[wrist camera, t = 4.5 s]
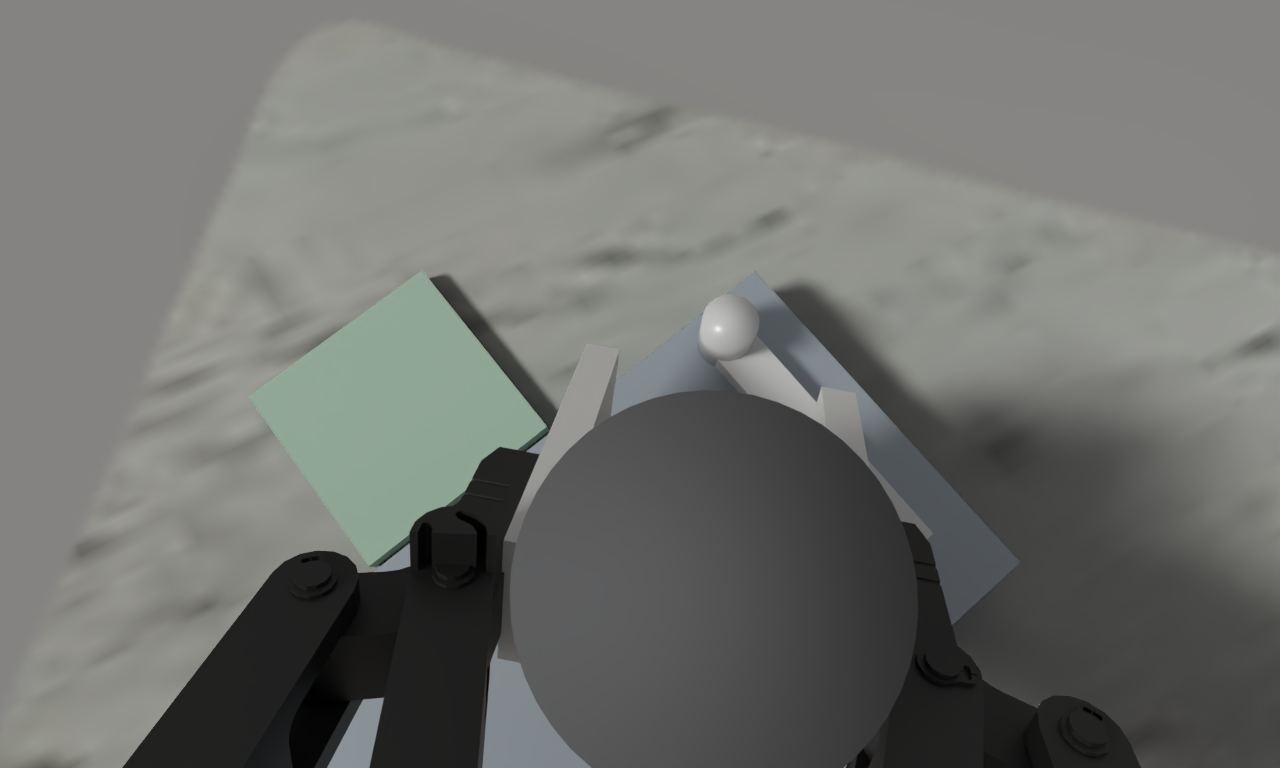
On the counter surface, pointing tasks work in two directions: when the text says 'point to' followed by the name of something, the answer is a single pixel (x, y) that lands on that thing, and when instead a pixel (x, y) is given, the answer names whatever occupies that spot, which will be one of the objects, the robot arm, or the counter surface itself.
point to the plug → (713, 590)
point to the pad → (395, 415)
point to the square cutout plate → (772, 369)
